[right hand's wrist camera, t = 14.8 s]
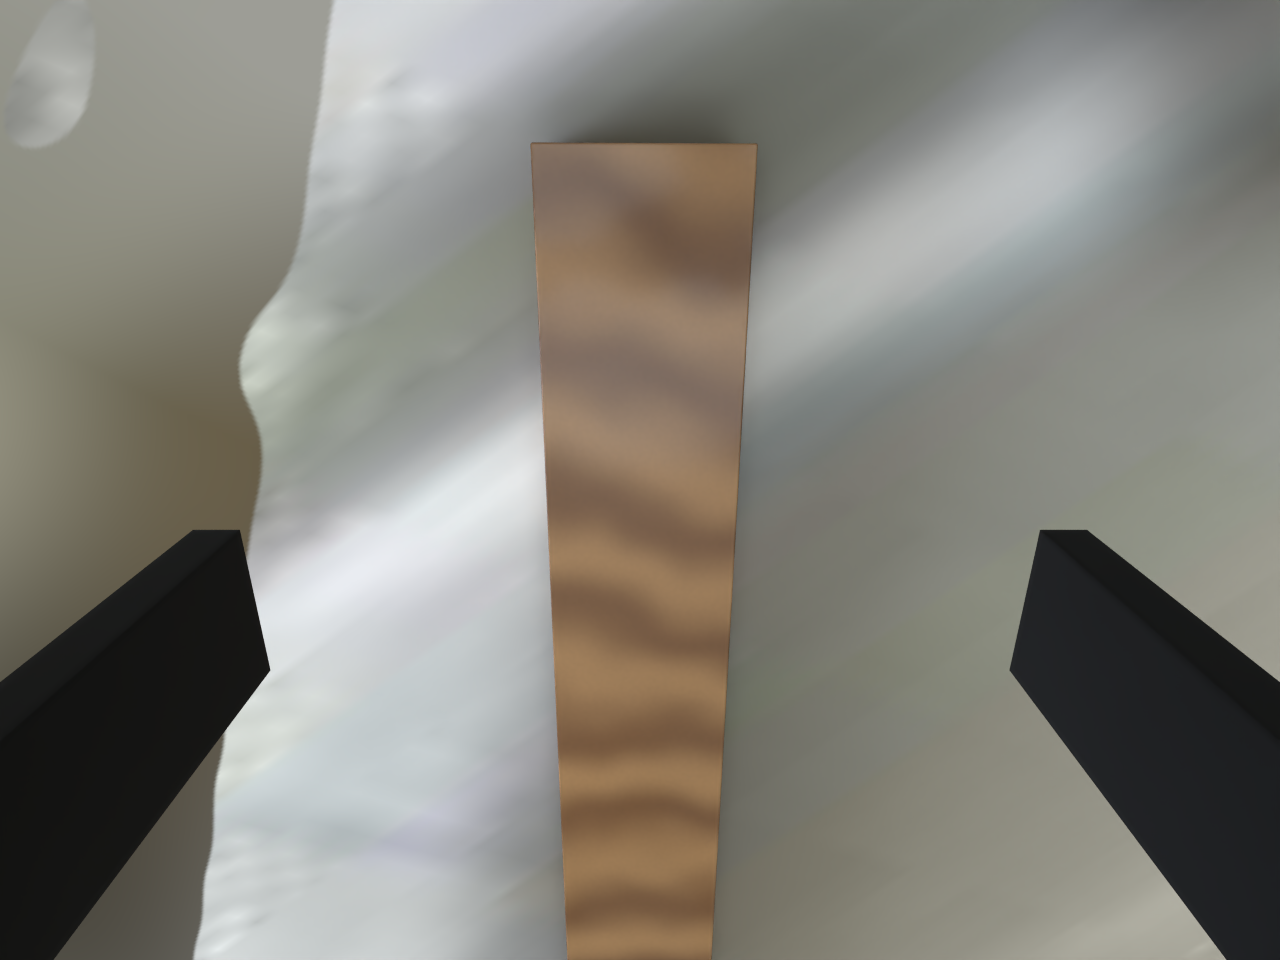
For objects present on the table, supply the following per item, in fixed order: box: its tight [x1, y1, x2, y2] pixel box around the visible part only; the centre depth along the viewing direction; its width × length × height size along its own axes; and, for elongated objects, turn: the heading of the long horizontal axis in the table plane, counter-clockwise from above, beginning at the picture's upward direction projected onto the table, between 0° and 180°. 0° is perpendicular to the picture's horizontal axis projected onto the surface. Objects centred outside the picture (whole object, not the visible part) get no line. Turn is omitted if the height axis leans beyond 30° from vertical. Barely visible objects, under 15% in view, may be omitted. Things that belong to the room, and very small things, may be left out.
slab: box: [531, 142, 758, 960], centre depth 49 cm, size 83×9×7 cm, turn 0°
